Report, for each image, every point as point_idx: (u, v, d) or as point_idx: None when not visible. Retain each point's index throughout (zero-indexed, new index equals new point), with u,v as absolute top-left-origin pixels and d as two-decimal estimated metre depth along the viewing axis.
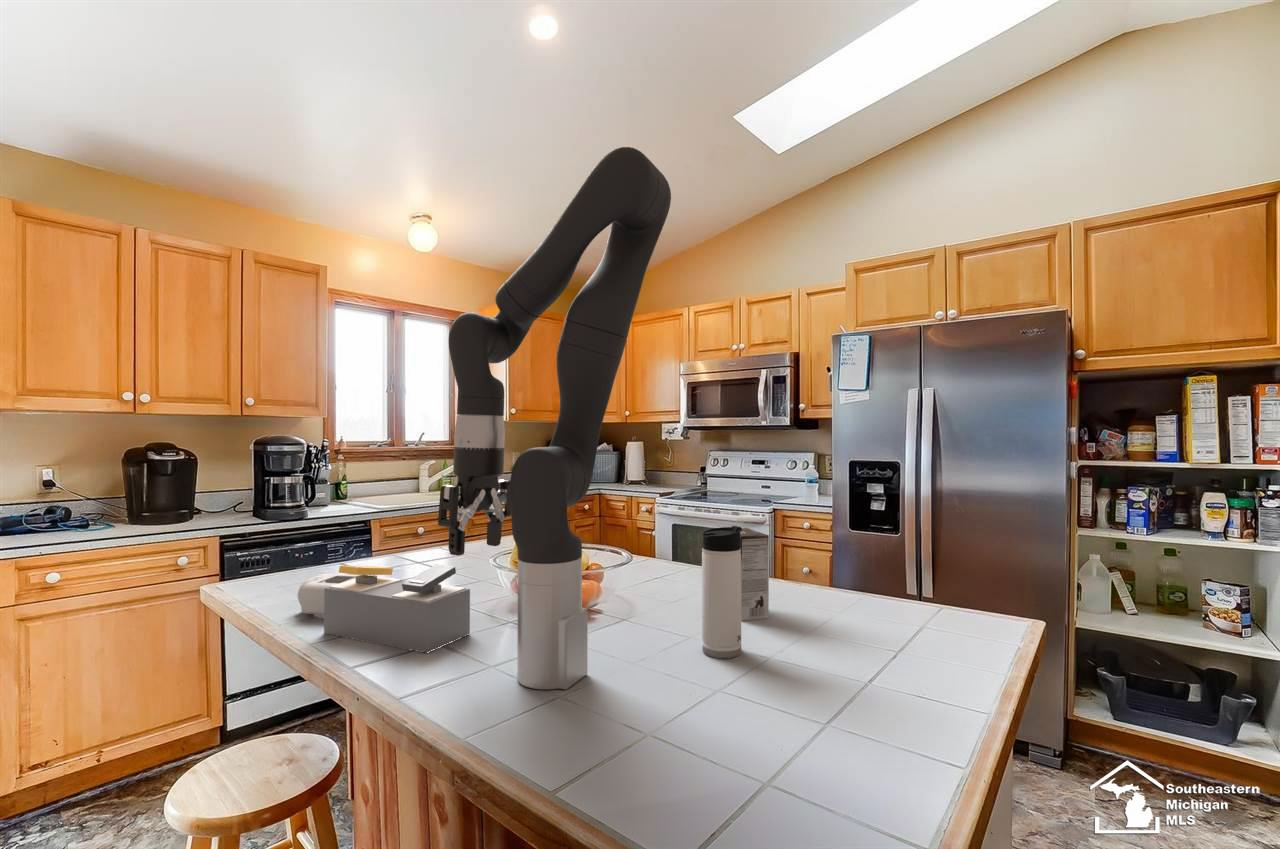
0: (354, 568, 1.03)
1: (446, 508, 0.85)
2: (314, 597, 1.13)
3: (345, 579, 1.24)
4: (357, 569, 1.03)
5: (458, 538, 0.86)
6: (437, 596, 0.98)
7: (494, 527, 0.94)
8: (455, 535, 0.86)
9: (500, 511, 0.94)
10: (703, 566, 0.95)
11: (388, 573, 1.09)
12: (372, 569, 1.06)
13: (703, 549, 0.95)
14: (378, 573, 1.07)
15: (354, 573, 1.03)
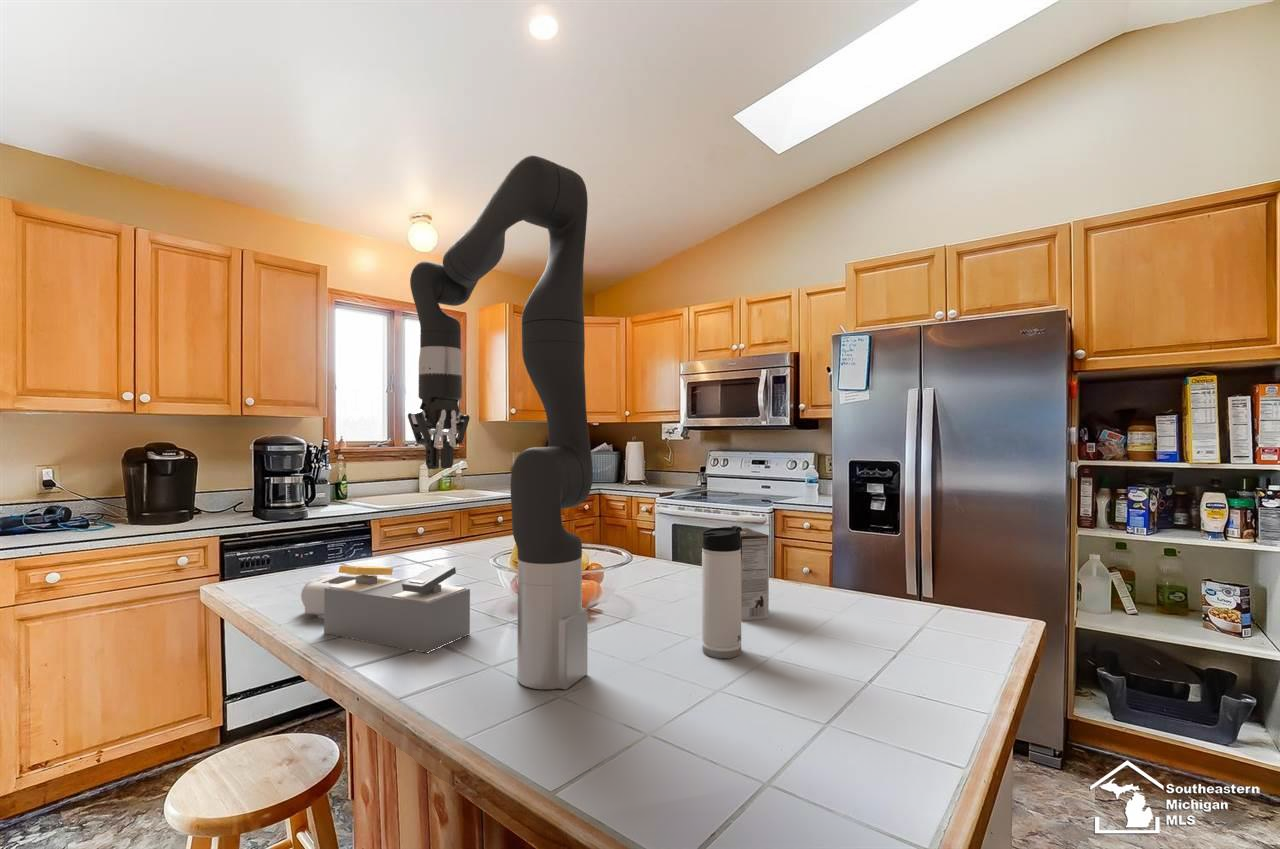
0: (354, 568, 1.03)
1: (418, 431, 1.02)
2: (317, 598, 1.12)
3: (348, 579, 1.23)
4: (357, 569, 1.03)
5: (433, 454, 1.05)
6: (437, 596, 0.98)
7: (447, 452, 1.08)
8: (431, 452, 1.05)
9: (451, 438, 1.08)
10: (703, 566, 0.95)
11: (388, 573, 1.09)
12: (372, 569, 1.06)
13: (703, 549, 0.95)
14: (378, 573, 1.07)
15: (354, 573, 1.03)
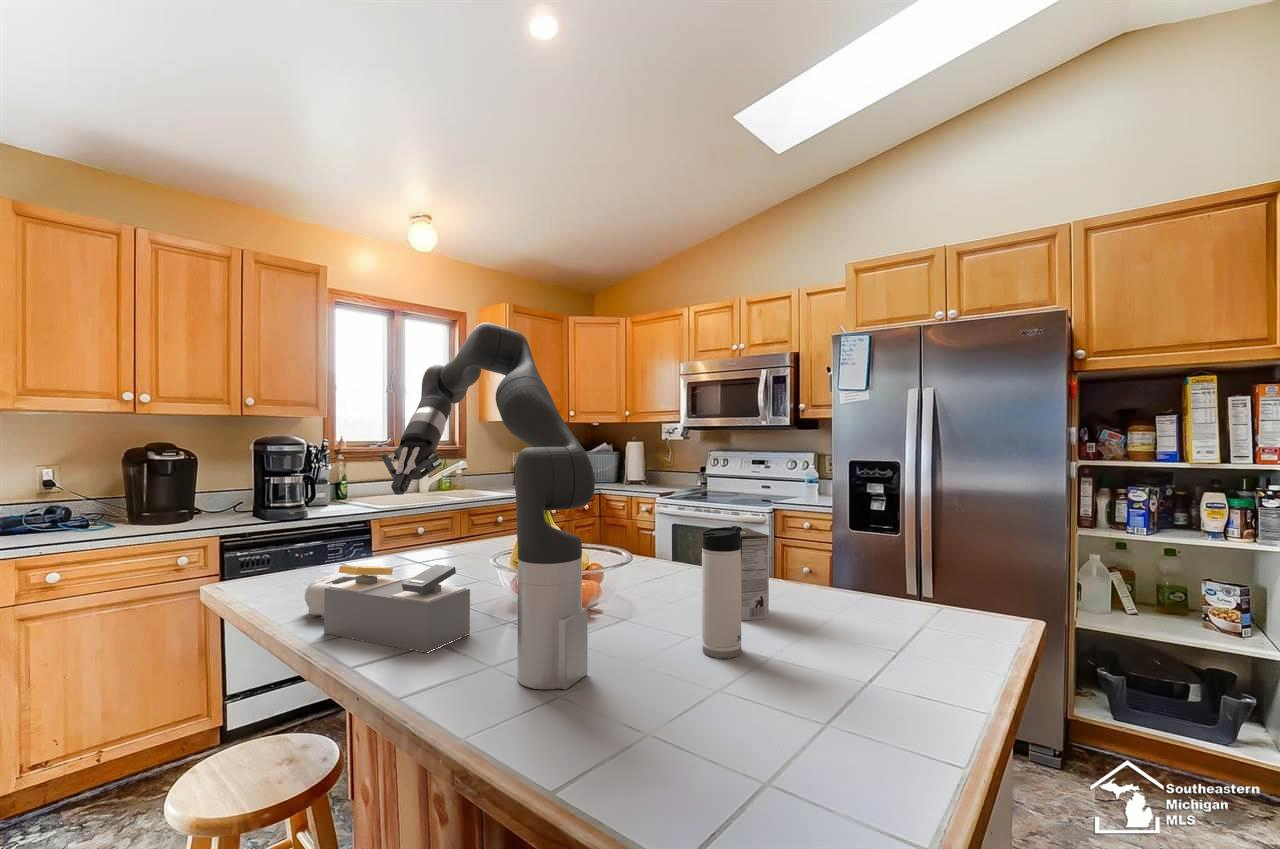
0: (354, 568, 1.03)
1: None
2: (321, 598, 1.12)
3: None
4: (357, 569, 1.03)
5: (395, 479, 1.19)
6: (437, 596, 0.98)
7: None
8: (394, 478, 1.20)
9: (406, 467, 1.21)
10: (703, 566, 0.95)
11: (388, 573, 1.09)
12: (372, 569, 1.06)
13: (703, 549, 0.95)
14: (378, 573, 1.07)
15: (354, 573, 1.03)
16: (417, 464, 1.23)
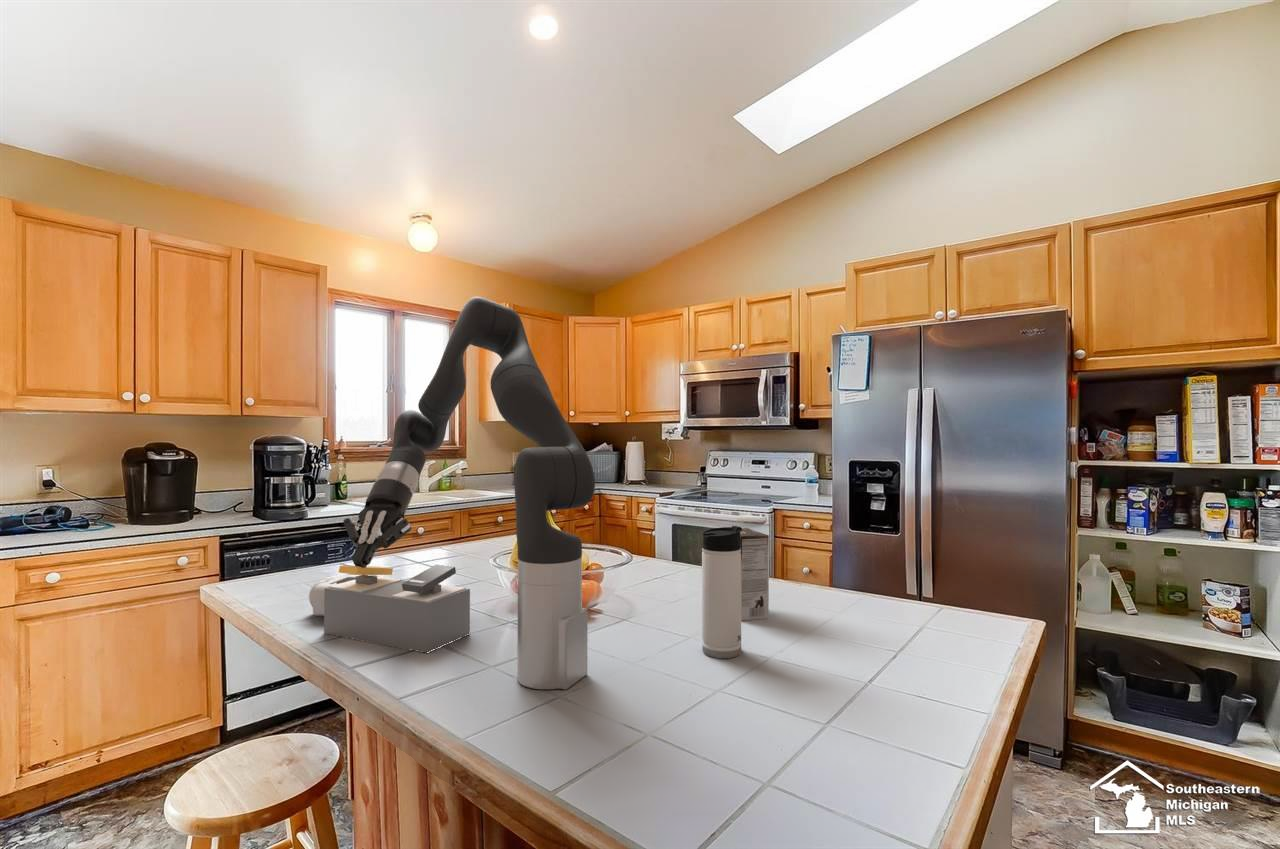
0: (354, 568, 1.03)
1: None
2: None
3: None
4: (357, 569, 1.03)
5: (357, 550, 1.06)
6: (437, 596, 0.98)
7: None
8: (357, 549, 1.06)
9: (370, 535, 1.07)
10: (703, 566, 0.95)
11: (388, 573, 1.09)
12: (372, 569, 1.06)
13: (703, 549, 0.95)
14: (378, 573, 1.07)
15: (354, 573, 1.03)
16: (383, 530, 1.09)
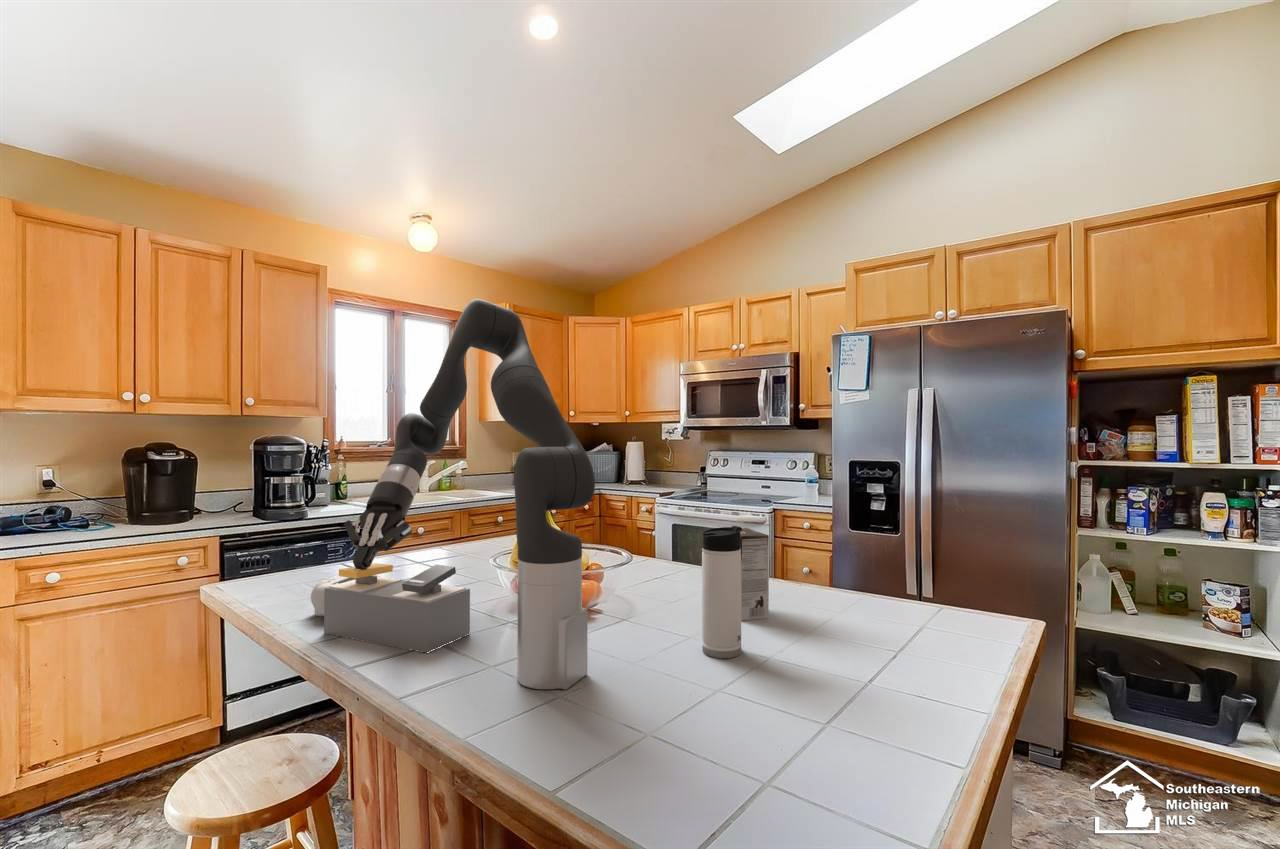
0: (353, 572, 1.03)
1: None
2: None
3: None
4: (356, 573, 1.03)
5: (358, 552, 1.06)
6: (437, 596, 0.98)
7: None
8: (357, 551, 1.06)
9: (370, 537, 1.08)
10: (703, 566, 0.95)
11: (389, 570, 1.09)
12: (372, 570, 1.06)
13: (703, 549, 0.95)
14: (378, 572, 1.07)
15: (354, 577, 1.03)
16: (384, 533, 1.09)
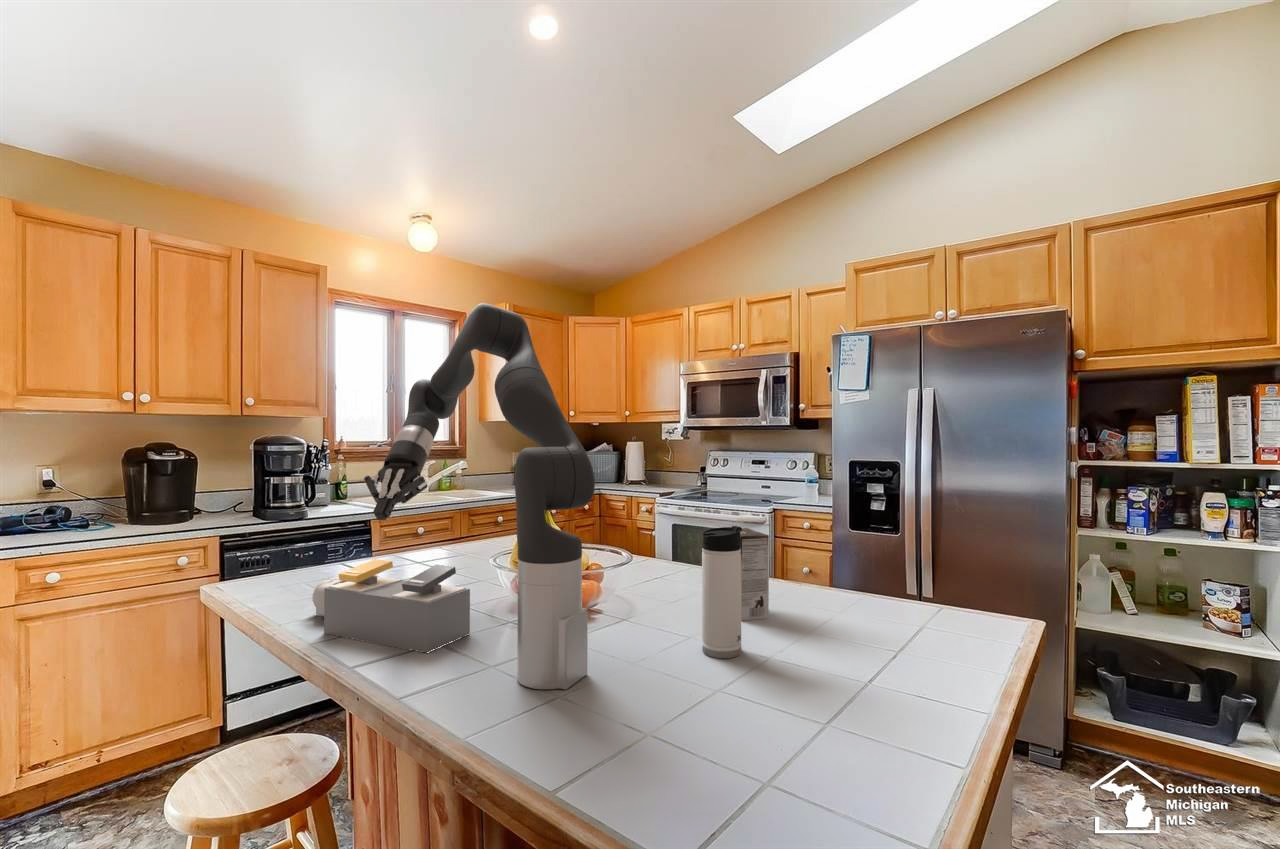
0: (353, 576, 1.03)
1: None
2: None
3: None
4: (356, 577, 1.03)
5: (378, 504, 1.14)
6: (437, 596, 0.98)
7: None
8: (377, 503, 1.14)
9: (389, 490, 1.15)
10: (703, 566, 0.95)
11: (389, 566, 1.09)
12: (371, 570, 1.06)
13: (703, 549, 0.95)
14: (379, 571, 1.07)
15: (354, 581, 1.03)
16: (401, 487, 1.17)
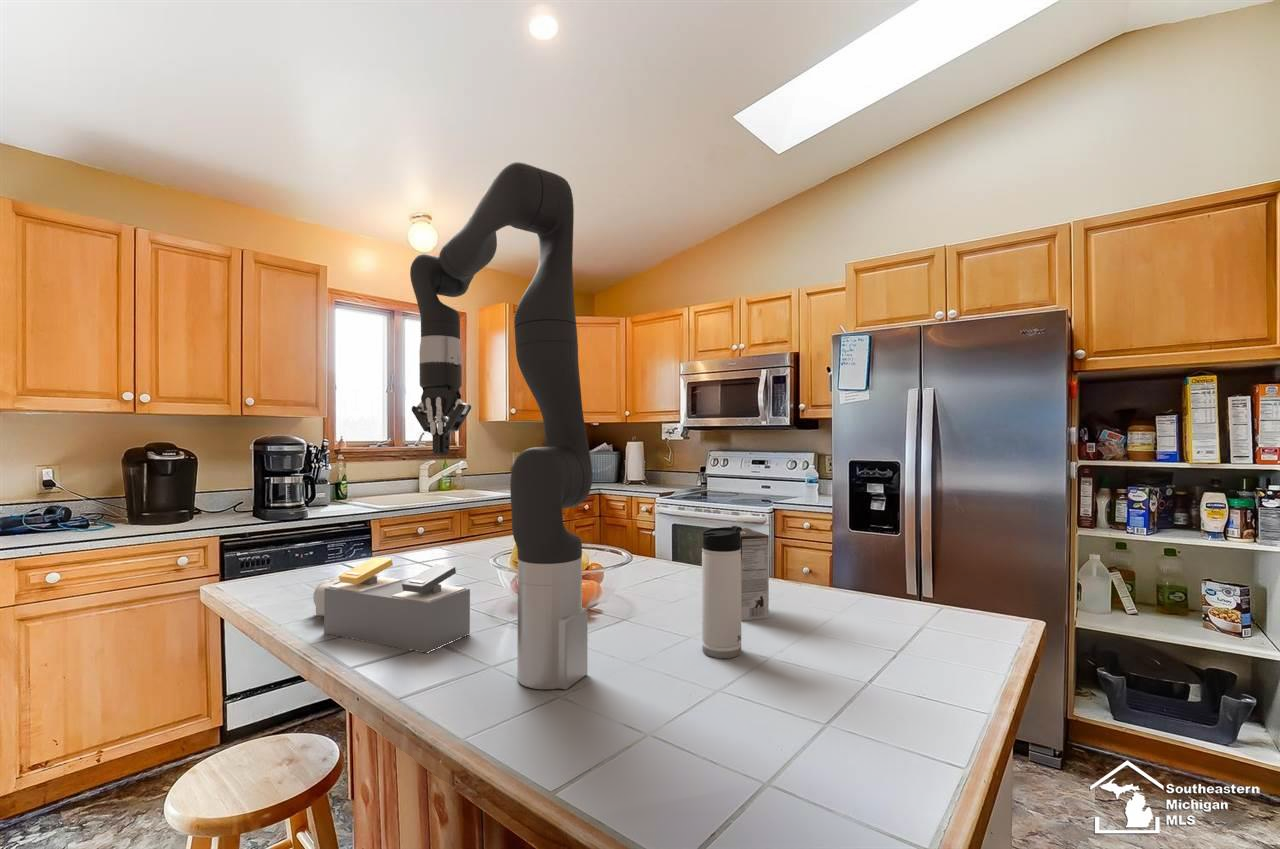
0: (353, 578, 1.03)
1: None
2: None
3: None
4: (356, 579, 1.03)
5: (433, 441, 1.10)
6: (437, 596, 0.98)
7: None
8: (433, 438, 1.10)
9: None
10: (703, 566, 0.95)
11: (389, 565, 1.09)
12: (371, 571, 1.06)
13: (703, 549, 0.95)
14: (379, 571, 1.07)
15: (355, 583, 1.03)
16: (447, 415, 1.10)
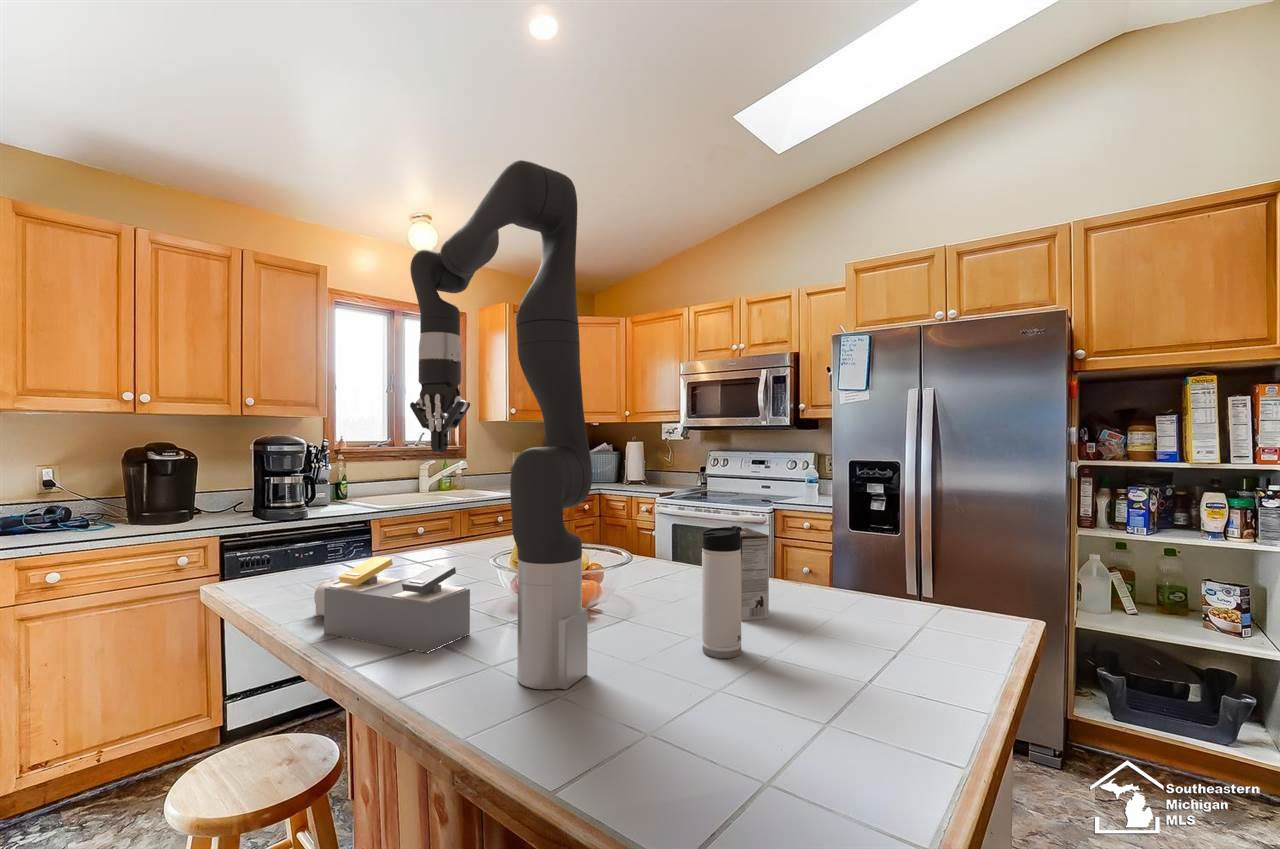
0: (353, 579, 1.03)
1: None
2: None
3: None
4: (356, 580, 1.03)
5: (432, 438, 1.10)
6: (437, 596, 0.98)
7: None
8: (431, 435, 1.10)
9: (436, 422, 1.09)
10: (703, 566, 0.95)
11: (388, 564, 1.09)
12: (371, 571, 1.06)
13: (703, 549, 0.95)
14: (379, 571, 1.07)
15: (355, 583, 1.03)
16: (446, 412, 1.09)
